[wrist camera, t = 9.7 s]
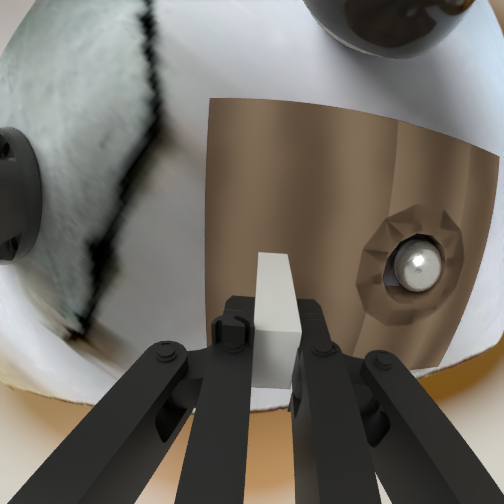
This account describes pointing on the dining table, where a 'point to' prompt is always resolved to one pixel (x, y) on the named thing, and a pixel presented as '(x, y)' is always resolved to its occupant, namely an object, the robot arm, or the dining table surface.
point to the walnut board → (345, 218)
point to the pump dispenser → (389, 24)
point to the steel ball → (417, 265)
